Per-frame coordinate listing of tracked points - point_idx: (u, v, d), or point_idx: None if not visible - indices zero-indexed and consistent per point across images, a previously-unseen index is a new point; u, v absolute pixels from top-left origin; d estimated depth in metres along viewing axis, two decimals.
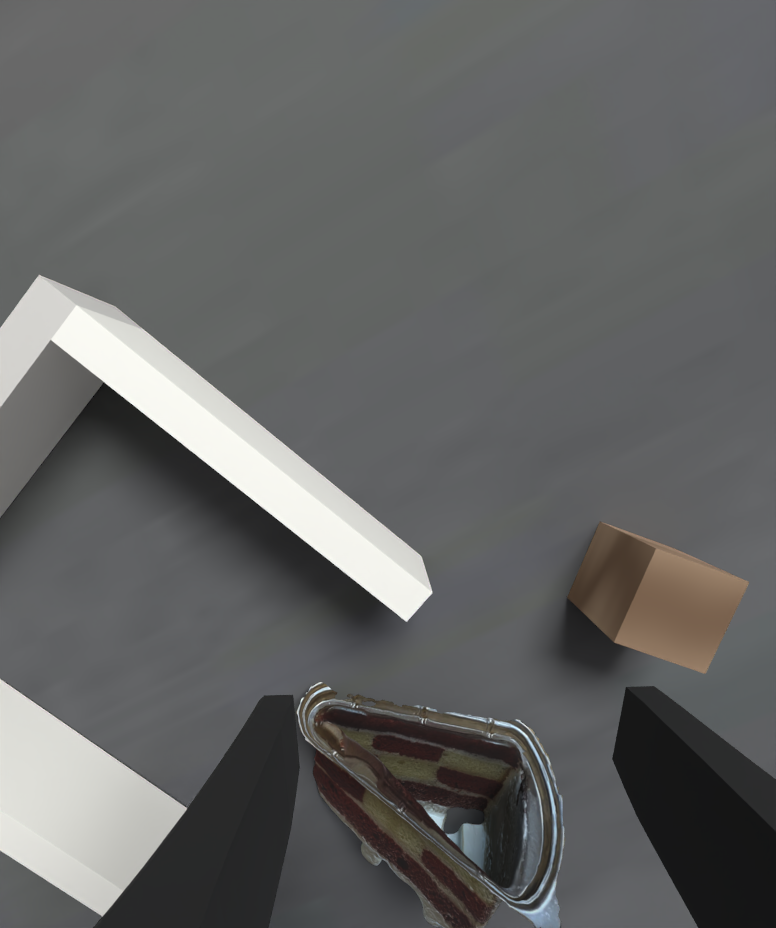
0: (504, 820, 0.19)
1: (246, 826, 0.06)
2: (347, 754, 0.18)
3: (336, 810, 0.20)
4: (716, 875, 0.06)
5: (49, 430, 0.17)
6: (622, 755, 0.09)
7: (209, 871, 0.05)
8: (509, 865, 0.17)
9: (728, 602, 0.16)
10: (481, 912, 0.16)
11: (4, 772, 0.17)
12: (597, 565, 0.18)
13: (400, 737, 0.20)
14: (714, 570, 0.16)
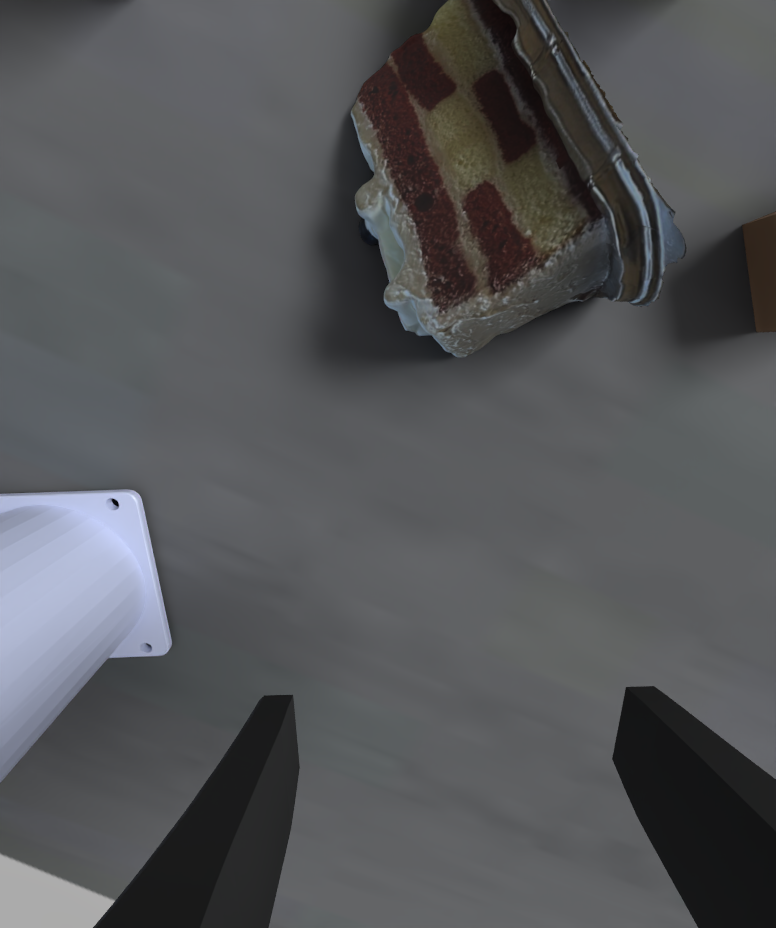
0: (525, 322, 0.14)
1: (246, 826, 0.06)
2: None
3: (368, 124, 0.13)
4: (716, 875, 0.06)
5: None
6: (622, 755, 0.09)
7: (209, 871, 0.05)
8: (560, 285, 0.11)
9: None
10: (515, 265, 0.10)
11: None
12: None
13: None
14: None
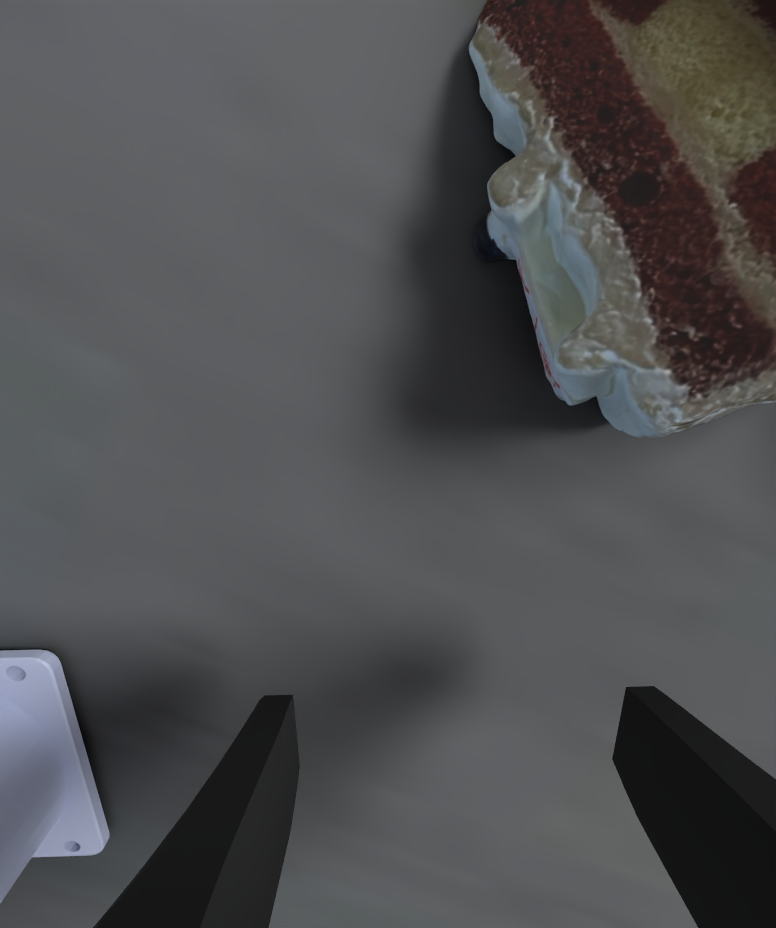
0: None
1: (246, 826, 0.06)
2: None
3: (511, 59, 0.07)
4: (716, 875, 0.06)
5: None
6: (622, 755, 0.09)
7: (209, 871, 0.05)
8: None
9: None
10: None
11: None
12: None
13: None
14: None
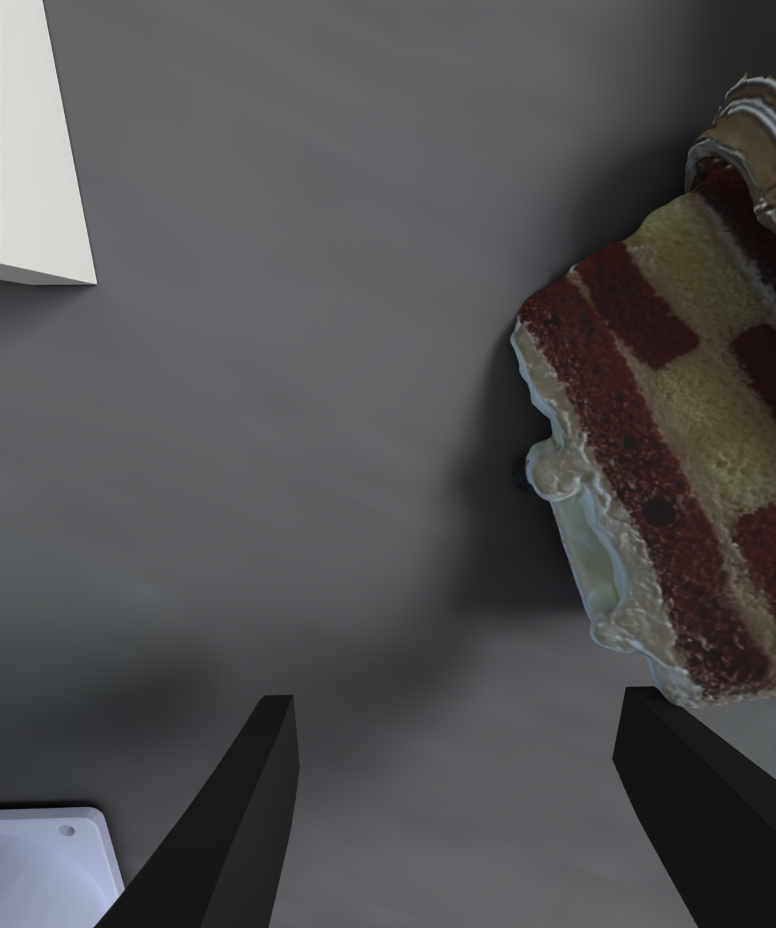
0: None
1: (246, 826, 0.06)
2: None
3: (549, 370, 0.09)
4: (716, 875, 0.06)
5: None
6: (622, 755, 0.09)
7: (209, 871, 0.05)
8: None
9: None
10: None
11: None
12: None
13: None
14: None
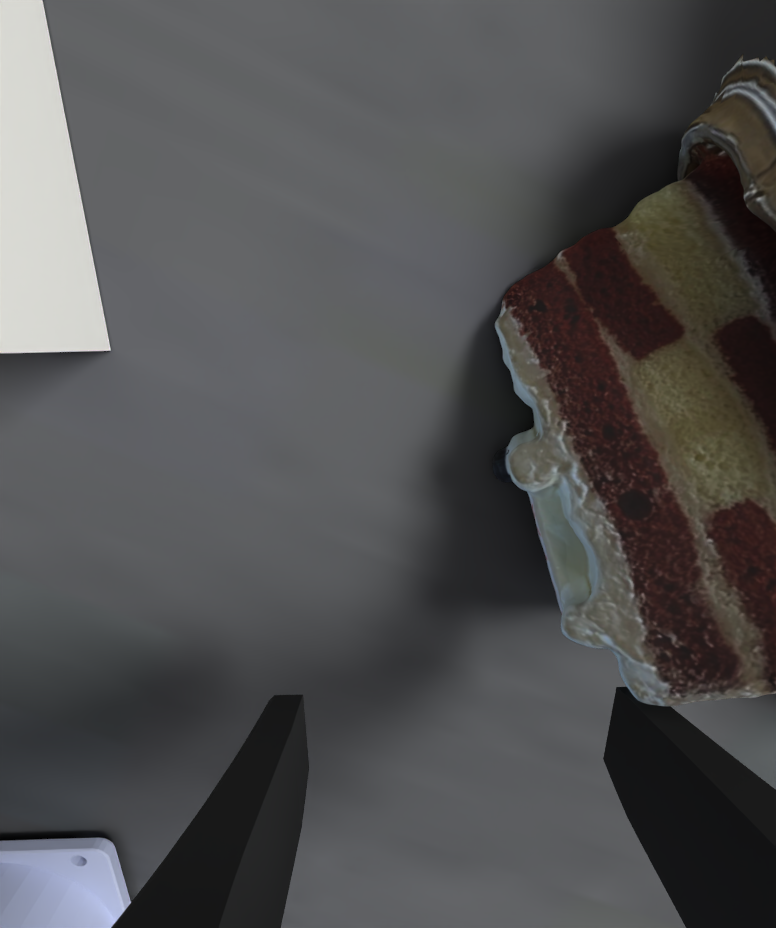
0: None
1: (260, 826, 0.06)
2: None
3: (531, 357, 0.09)
4: (703, 875, 0.06)
5: None
6: (613, 755, 0.09)
7: (226, 870, 0.05)
8: None
9: None
10: None
11: None
12: None
13: None
14: None
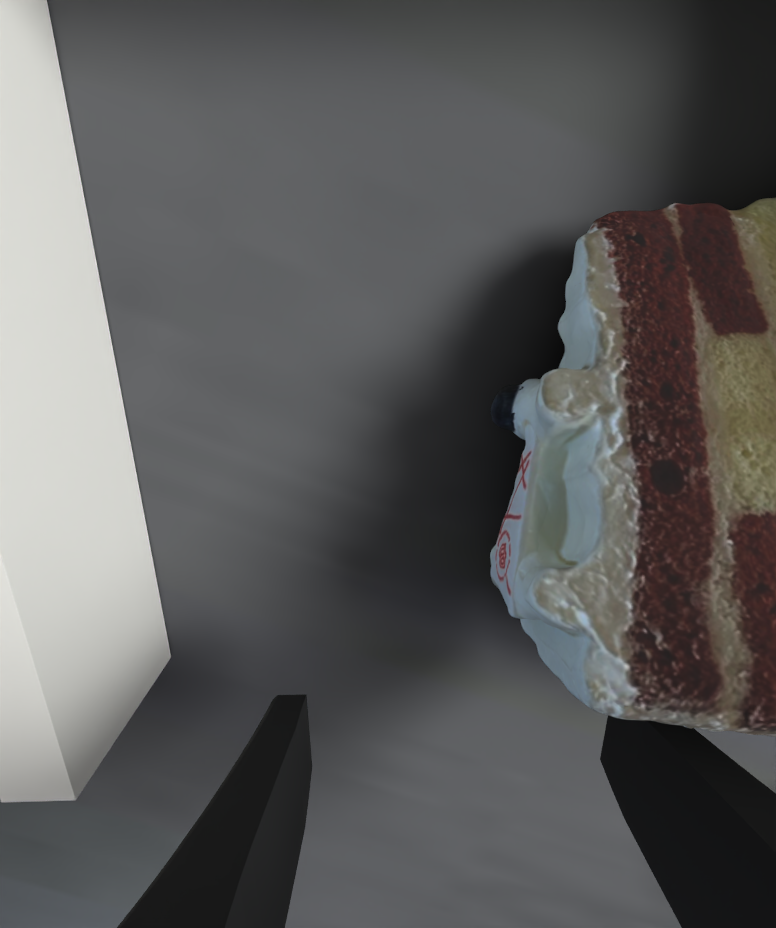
0: None
1: (265, 825, 0.06)
2: None
3: (612, 283, 0.07)
4: (699, 875, 0.06)
5: None
6: (609, 755, 0.09)
7: (231, 870, 0.05)
8: None
9: None
10: None
11: (15, 391, 0.07)
12: None
13: None
14: None
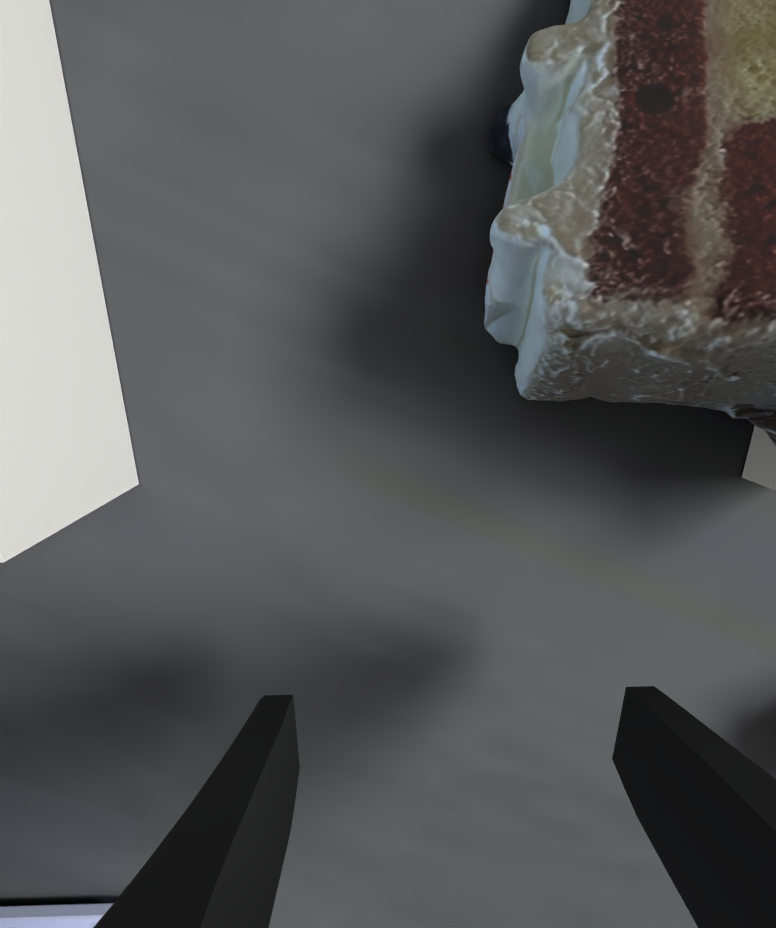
0: (648, 401, 0.09)
1: (246, 826, 0.06)
2: None
3: None
4: (716, 875, 0.06)
5: None
6: (622, 755, 0.09)
7: (209, 871, 0.05)
8: None
9: None
10: None
11: None
12: None
13: None
14: None
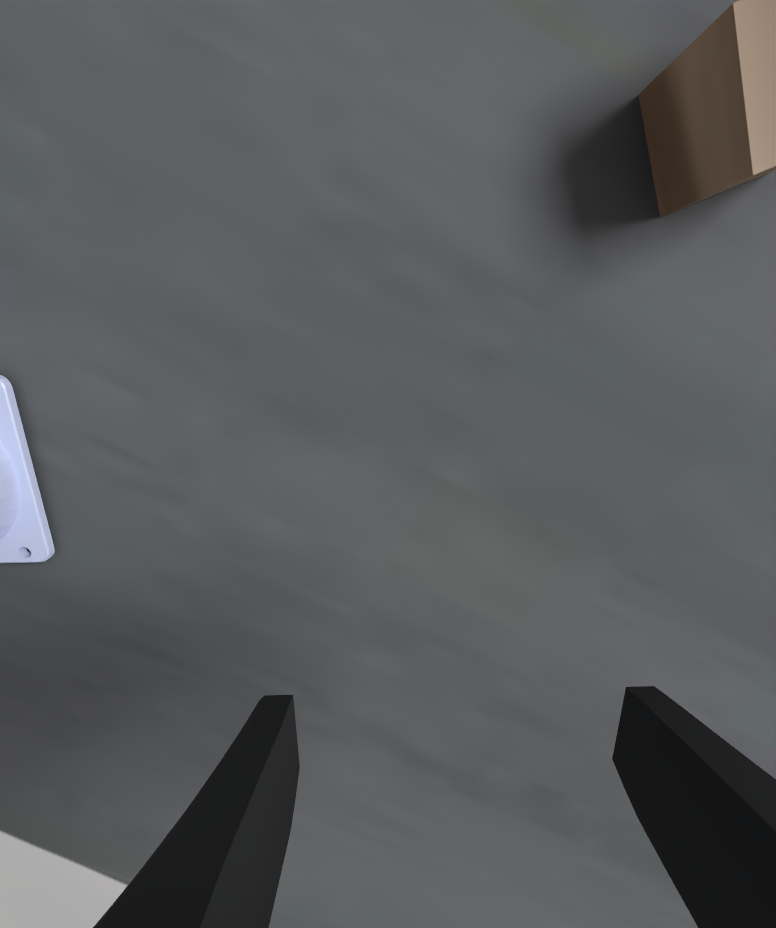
0: None
1: (246, 826, 0.06)
2: None
3: None
4: (716, 875, 0.06)
5: None
6: (622, 755, 0.09)
7: (209, 871, 0.05)
8: None
9: None
10: None
11: None
12: None
13: None
14: None
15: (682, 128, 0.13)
